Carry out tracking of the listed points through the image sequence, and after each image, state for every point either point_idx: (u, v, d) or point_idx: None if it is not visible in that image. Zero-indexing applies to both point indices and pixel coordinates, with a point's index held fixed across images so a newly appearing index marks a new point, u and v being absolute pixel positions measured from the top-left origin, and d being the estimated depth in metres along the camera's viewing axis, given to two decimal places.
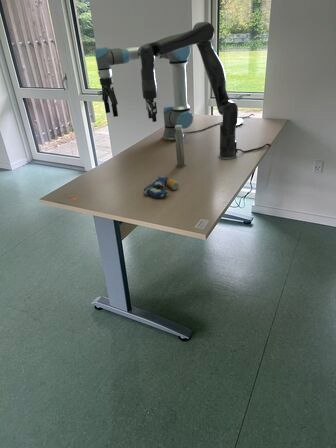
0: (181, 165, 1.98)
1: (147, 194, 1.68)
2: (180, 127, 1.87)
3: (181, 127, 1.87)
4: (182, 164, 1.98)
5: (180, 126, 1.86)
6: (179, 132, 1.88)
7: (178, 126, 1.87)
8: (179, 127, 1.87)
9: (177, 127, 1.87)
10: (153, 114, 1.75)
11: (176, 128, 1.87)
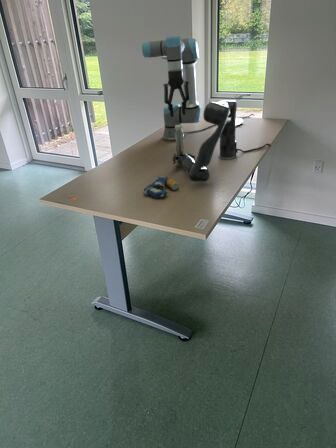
0: None
1: (147, 194, 1.68)
2: (180, 127, 1.87)
3: (181, 127, 1.87)
4: None
5: (180, 126, 1.86)
6: (179, 132, 1.88)
7: (178, 126, 1.87)
8: (179, 127, 1.87)
9: (177, 127, 1.87)
10: None
11: (176, 128, 1.87)
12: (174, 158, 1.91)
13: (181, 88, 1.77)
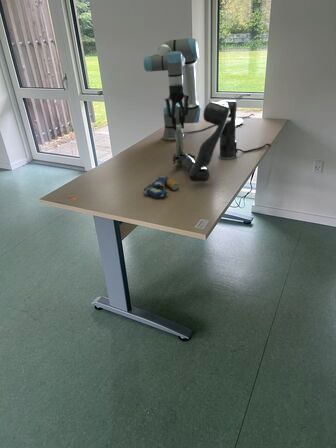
0: None
1: (147, 194, 1.68)
2: (180, 127, 1.87)
3: (181, 127, 1.87)
4: None
5: (180, 126, 1.86)
6: (179, 132, 1.88)
7: (178, 126, 1.87)
8: (179, 127, 1.87)
9: (177, 127, 1.87)
10: None
11: (176, 128, 1.87)
12: (174, 158, 1.91)
13: (181, 102, 1.81)
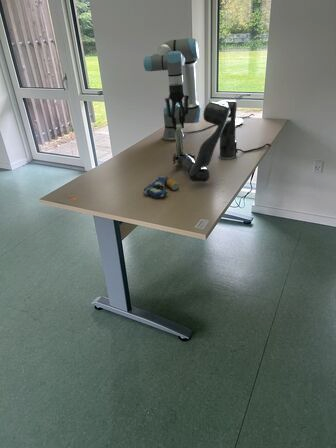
0: None
1: (147, 194, 1.68)
2: None
3: None
4: None
5: None
6: (179, 132, 1.88)
7: (181, 125, 1.88)
8: (181, 125, 1.89)
9: None
10: None
11: (181, 127, 1.88)
12: (174, 158, 1.91)
13: (181, 102, 1.81)
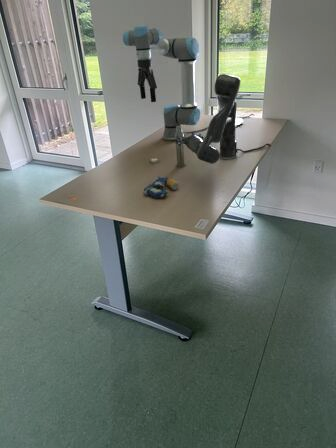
0: (181, 165, 1.98)
1: (147, 194, 1.68)
2: None
3: None
4: (182, 164, 1.98)
5: (155, 158, 2.10)
6: (179, 132, 1.88)
7: (156, 158, 2.09)
8: (156, 159, 2.10)
9: (157, 159, 2.09)
10: (197, 137, 1.78)
11: (157, 160, 2.09)
12: (179, 139, 1.72)
13: None
